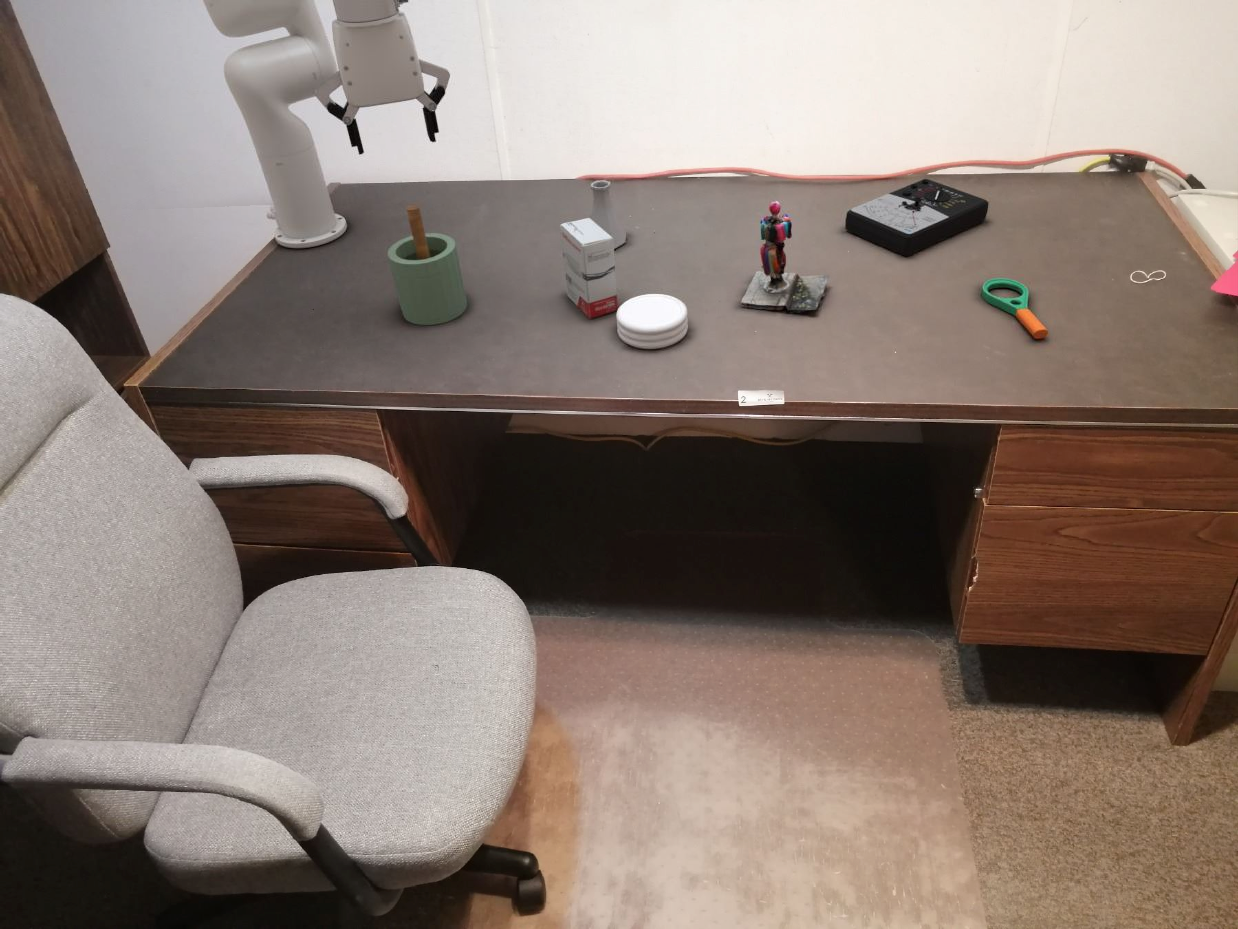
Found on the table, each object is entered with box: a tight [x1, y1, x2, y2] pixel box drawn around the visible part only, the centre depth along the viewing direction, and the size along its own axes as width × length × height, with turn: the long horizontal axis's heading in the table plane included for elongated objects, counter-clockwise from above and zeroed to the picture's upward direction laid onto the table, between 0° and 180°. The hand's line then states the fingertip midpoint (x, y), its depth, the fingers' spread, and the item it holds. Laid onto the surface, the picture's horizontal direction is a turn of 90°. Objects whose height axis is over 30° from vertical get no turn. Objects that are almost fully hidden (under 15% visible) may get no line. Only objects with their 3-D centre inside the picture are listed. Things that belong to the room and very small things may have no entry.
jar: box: [387, 232, 468, 326], centre depth 133 cm, size 10×10×10 cm
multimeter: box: [844, 178, 990, 257], centre depth 145 cm, size 13×19×5 cm
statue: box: [740, 200, 830, 314], centre depth 127 cm, size 11×9×15 cm
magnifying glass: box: [981, 277, 1049, 339], centre depth 123 cm, size 15×6×2 cm, turn 3°
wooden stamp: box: [405, 204, 430, 260], centre depth 130 cm, size 5×5×16 cm
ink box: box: [559, 217, 619, 319], centre depth 130 cm, size 8×5×12 cm, turn 26°
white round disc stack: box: [615, 293, 689, 350], centre depth 125 cm, size 10×10×4 cm
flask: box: [589, 179, 627, 250], centre depth 146 cm, size 7×7×10 cm
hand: (396, 144), depth 120 cm, fingers open, 9 cm apart
